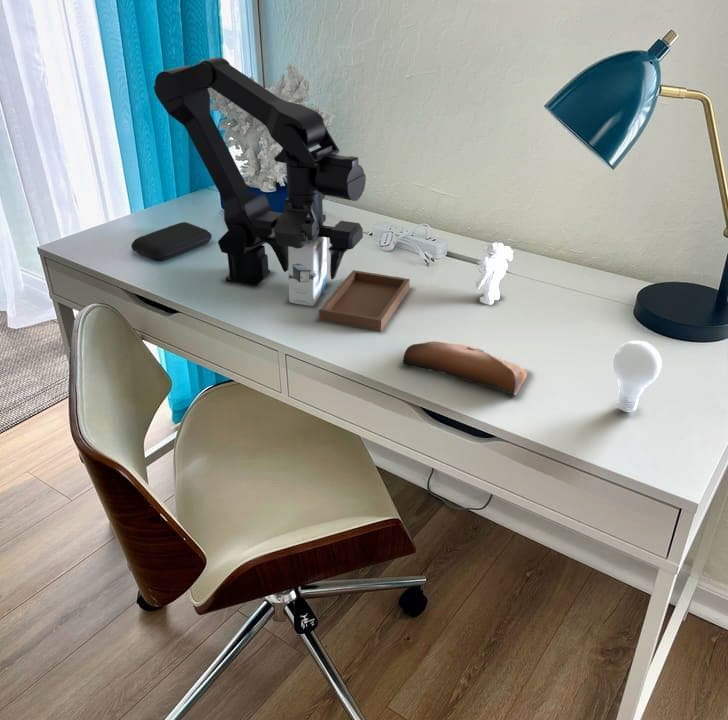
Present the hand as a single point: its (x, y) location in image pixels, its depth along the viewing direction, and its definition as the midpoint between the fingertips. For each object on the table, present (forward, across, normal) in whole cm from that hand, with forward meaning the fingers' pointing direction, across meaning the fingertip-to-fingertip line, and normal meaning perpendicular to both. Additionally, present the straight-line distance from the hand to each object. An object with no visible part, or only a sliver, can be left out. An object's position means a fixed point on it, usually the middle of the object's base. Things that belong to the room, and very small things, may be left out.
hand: (309, 274), depth 132 cm
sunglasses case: (+5, +32, -15) cm, 36 cm away
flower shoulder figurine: (+4, +31, +9) cm, 33 cm away
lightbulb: (+5, +56, -18) cm, 59 cm away
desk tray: (+4, +11, 0) cm, 12 cm away
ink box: (+4, 0, 0) cm, 4 cm away
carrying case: (+4, -35, +10) cm, 36 cm away
